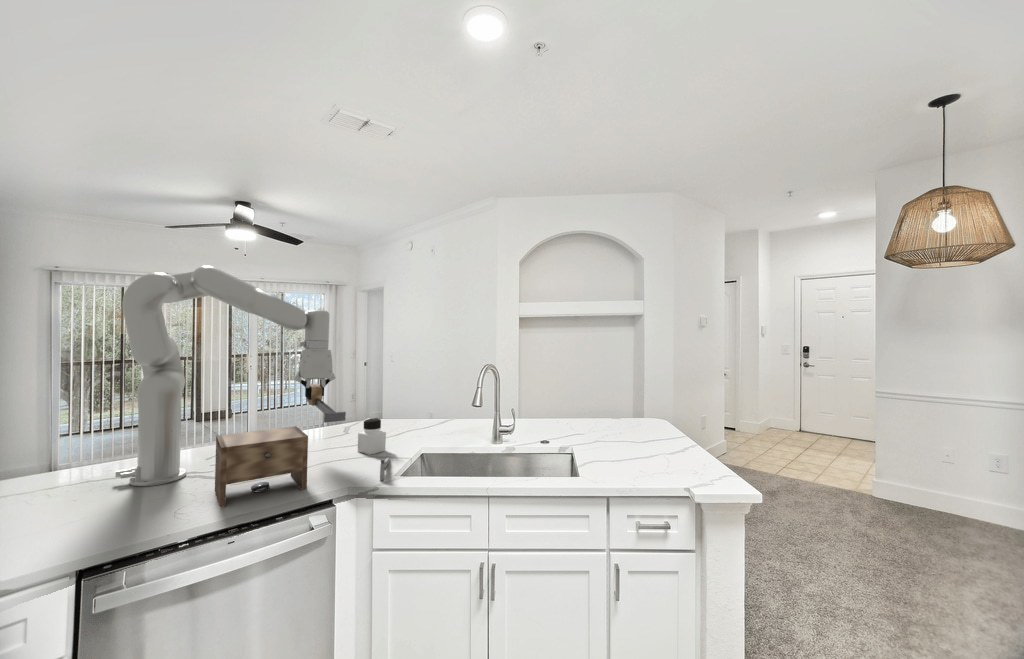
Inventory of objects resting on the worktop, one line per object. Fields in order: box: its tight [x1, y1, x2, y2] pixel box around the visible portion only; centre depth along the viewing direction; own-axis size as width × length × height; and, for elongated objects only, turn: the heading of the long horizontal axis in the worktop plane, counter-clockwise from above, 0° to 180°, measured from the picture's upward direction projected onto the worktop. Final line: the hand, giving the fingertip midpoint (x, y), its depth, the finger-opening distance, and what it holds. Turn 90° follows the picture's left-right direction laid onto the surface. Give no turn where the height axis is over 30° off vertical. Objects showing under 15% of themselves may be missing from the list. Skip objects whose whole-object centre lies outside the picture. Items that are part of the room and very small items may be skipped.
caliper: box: [379, 457, 391, 482], centre depth 134 cm, size 20×1×6 cm, turn 11°
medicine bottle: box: [357, 417, 387, 456], centre depth 153 cm, size 7×7×12 cm
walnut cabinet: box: [214, 426, 309, 508], centre depth 114 cm, size 20×15×15 cm
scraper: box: [306, 383, 347, 424], centre depth 135 cm, size 6×28×6 cm, turn 39°
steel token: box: [250, 481, 270, 492], centre depth 116 cm, size 4×4×1 cm
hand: (314, 398), depth 143 cm, fingers closed on scraper, 3 cm apart
